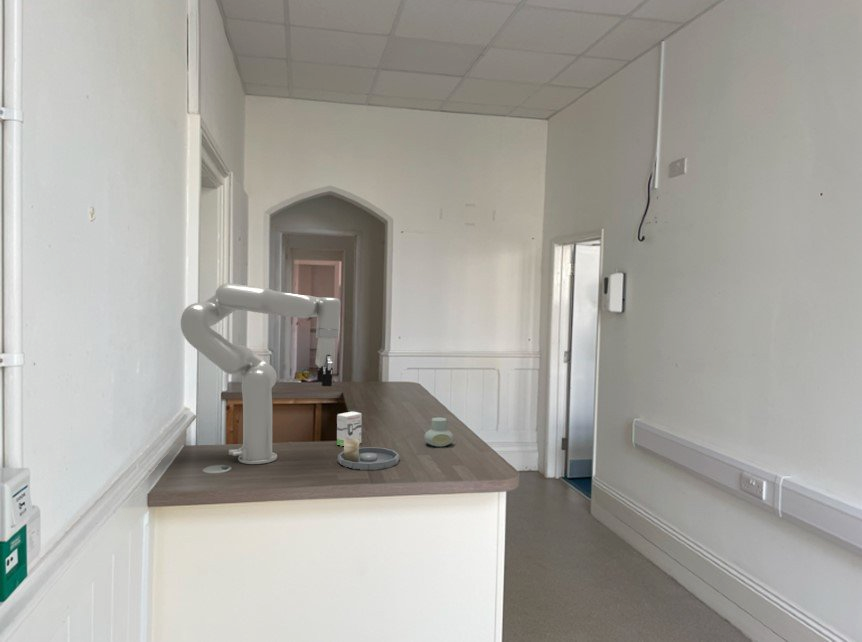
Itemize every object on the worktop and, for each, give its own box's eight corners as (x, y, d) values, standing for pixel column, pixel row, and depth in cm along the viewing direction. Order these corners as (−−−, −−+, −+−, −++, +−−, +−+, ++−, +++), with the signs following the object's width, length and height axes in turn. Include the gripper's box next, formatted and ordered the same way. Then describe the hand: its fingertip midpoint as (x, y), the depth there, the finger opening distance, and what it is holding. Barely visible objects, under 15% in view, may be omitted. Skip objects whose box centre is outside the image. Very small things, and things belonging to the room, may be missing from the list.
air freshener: (426, 448, 216) (427, 421, 216) (422, 442, 225) (422, 417, 224) (455, 447, 219) (455, 420, 218) (450, 441, 227) (450, 416, 226)
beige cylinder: (345, 463, 193) (345, 442, 193) (342, 459, 197) (342, 439, 197) (360, 462, 195) (360, 441, 194) (356, 458, 199) (356, 438, 199)
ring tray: (346, 472, 185) (346, 465, 185) (333, 456, 204) (333, 450, 204) (406, 466, 193) (406, 460, 192) (388, 451, 211) (388, 445, 211)
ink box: (345, 447, 215) (345, 416, 215) (336, 445, 218) (336, 414, 218) (361, 443, 222) (362, 412, 222) (352, 441, 225) (352, 411, 225)
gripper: (312, 331, 205) (309, 379, 206) (320, 335, 189) (317, 387, 190) (333, 332, 208) (330, 380, 209) (343, 336, 192) (339, 388, 192)
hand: (324, 383), depth 199 cm, fingers open, 9 cm apart
